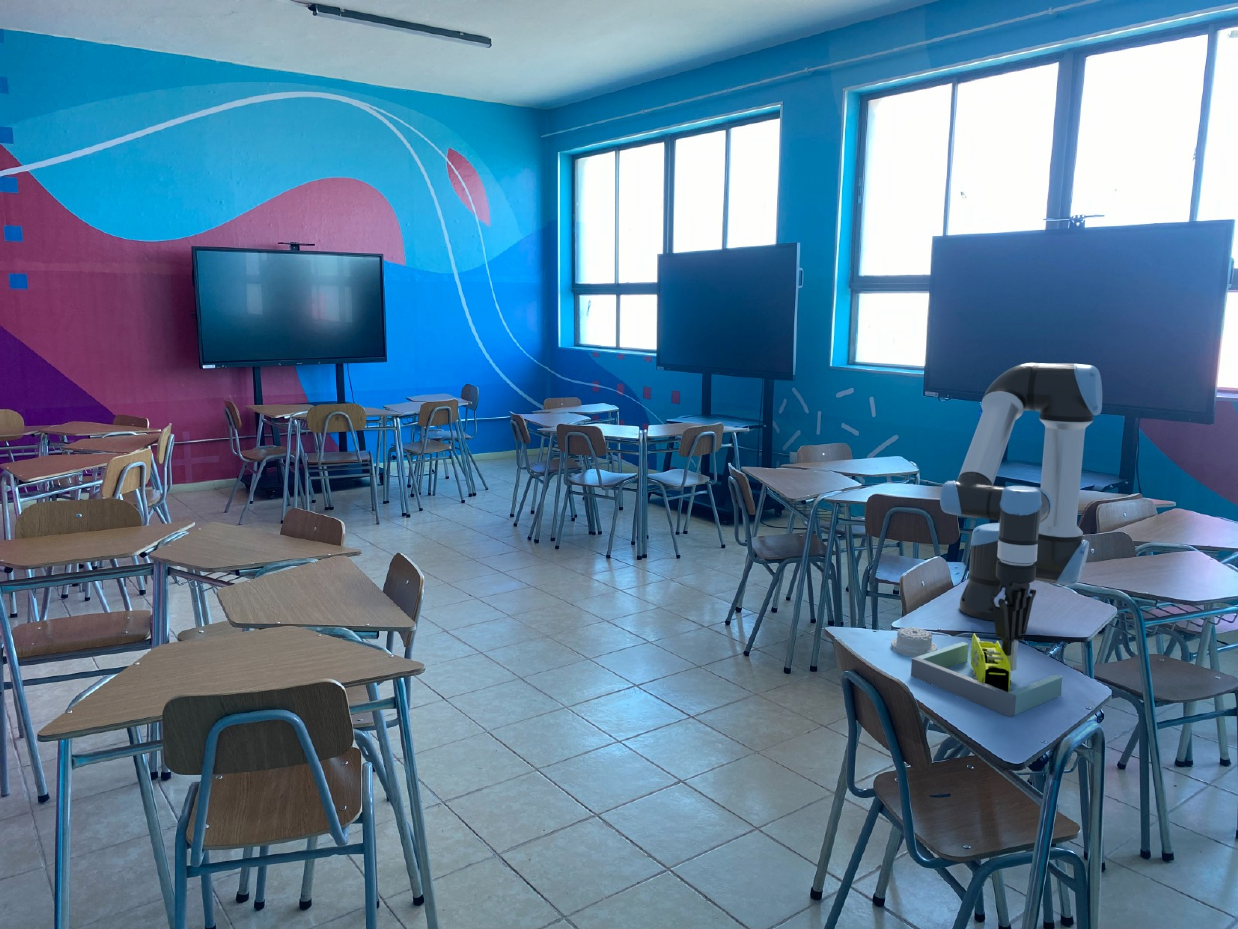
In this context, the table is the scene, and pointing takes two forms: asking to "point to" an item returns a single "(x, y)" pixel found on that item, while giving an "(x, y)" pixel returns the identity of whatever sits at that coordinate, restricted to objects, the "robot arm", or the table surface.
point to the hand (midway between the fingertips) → (1008, 668)
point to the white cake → (913, 642)
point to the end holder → (1009, 704)
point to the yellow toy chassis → (990, 664)
